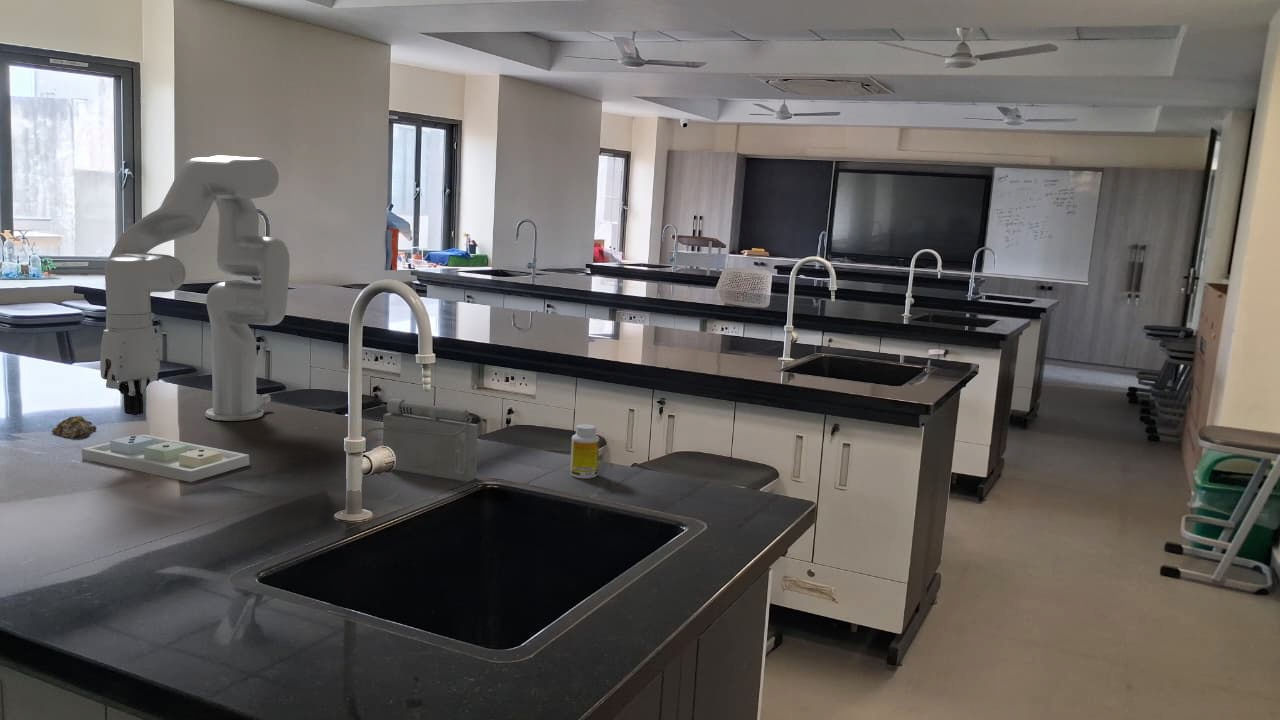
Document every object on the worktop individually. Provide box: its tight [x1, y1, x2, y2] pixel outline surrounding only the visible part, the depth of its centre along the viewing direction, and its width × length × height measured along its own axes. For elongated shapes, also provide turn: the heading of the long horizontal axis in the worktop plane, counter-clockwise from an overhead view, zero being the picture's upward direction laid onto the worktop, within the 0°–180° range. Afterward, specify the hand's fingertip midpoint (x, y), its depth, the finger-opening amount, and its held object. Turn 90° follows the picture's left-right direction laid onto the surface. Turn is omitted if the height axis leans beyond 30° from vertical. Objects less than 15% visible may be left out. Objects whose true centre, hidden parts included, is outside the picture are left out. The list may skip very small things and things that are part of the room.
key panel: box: [81, 434, 250, 483], centre depth 184 cm, size 14×28×2 cm, turn 68°
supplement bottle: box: [569, 423, 600, 480], centre depth 191 cm, size 6×6×10 cm
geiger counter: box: [362, 398, 479, 482], centre depth 186 cm, size 14×6×25 cm
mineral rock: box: [51, 415, 98, 439], centre depth 201 cm, size 11×4×8 cm
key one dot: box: [144, 442, 188, 462], centre depth 184 cm, size 5×5×2 cm
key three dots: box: [110, 434, 154, 455], centre depth 187 cm, size 5×5×2 cm
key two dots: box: [179, 448, 223, 468], centre depth 180 cm, size 5×5×2 cm
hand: (134, 413), depth 187 cm, fingers closed
